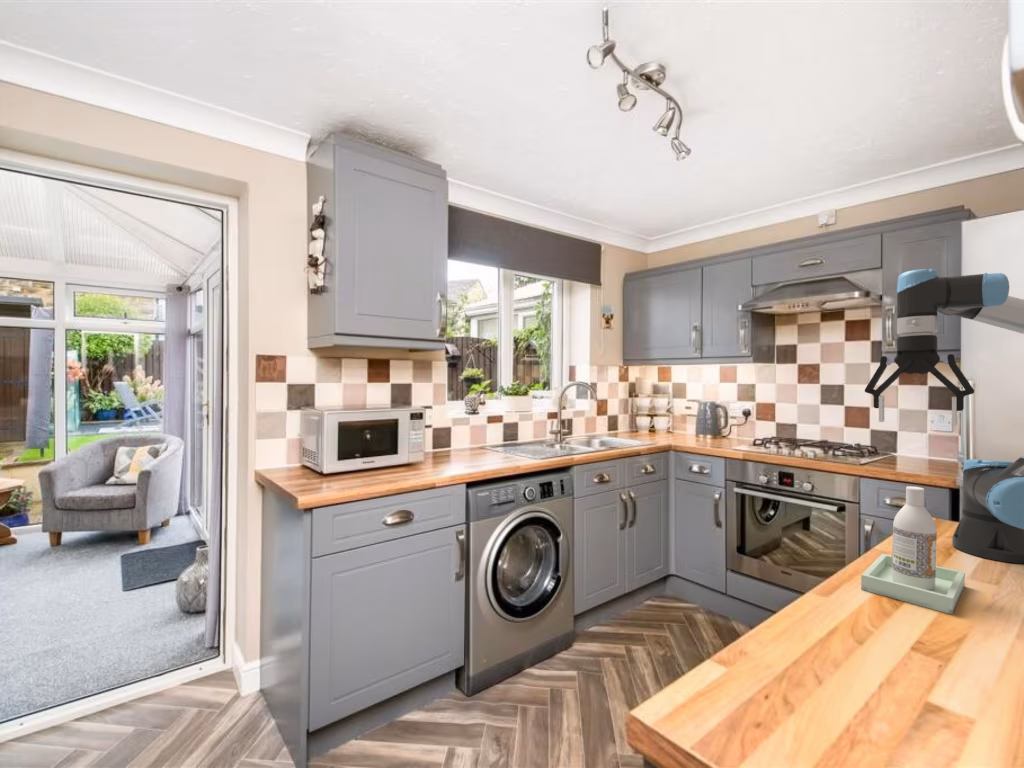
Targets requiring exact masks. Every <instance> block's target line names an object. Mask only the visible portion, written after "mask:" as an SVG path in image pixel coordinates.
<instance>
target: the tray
mask: <svg viewBox="0 0 1024 768" xmlns="http://www.w3.org/2000/svg"><path fill="white" fill-rule="evenodd" d="M965 576H966V572H965V571H961V570H956V569H951V568H949V567H943V566H938V565H936V577H935V588H934V589H931V590H925V589H921V588H917V587H913V586H909V585H905V584H901V583H898V582H895V581H894V580H893V579H892V555H891V554H886V553H881V554H880V555H879V556H878V557H877V558H876V559H875V560H874V562H873V563H871V564H870V566H868V567H867V569H866V570H865V571H864V572H863V573H862V574H861V577H860V578H861V581H860V582H861V584H860V589H861V590H862V591H866V592H869V593H872V594H873V593H874V594H877V595H880V596H883V597H887V598H891V599H896V600H898V601H901V602H905V603H908V604H909V603H910V604H913V605H916V606H921V607H924V608H927V609H931V610H935V611H938V612H941V613H944V614H945V613H946V614H947V615H948V614H949V615H952V616H953V615H954V612H955V610H956V608H957V605H958V603H959V600H960V598H961V596H962V594H963V592H964V588H965V581H966V579H965V578H966V577H965Z"/></svg>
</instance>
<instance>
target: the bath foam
mask: <svg viewBox="0 0 1024 768" xmlns="http://www.w3.org/2000/svg"><path fill="white" fill-rule="evenodd" d="M905 487H906V488H905V504H904V505H903V507H901V508H900V509H899V510H898V512H897V513H896V514H895V516H894V518H893V523H892V555H891V556H892V579H893V580H894V581H895V582H898V583H901V584H905V585H909V586H913V587H917V588H921V589H925V590H931V589H934V588H935V577H936V566H937V538H938V537H937V535H938V532H937V526H936V523H935V520H934V519H933V516H932V515H931V514H930V512H929V511H928V510H927V508H926V507H925V488H923V487H920V486H910V485H909V486H905Z"/></svg>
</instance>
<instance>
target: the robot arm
mask: <svg viewBox="0 0 1024 768" xmlns="http://www.w3.org/2000/svg"><path fill="white" fill-rule="evenodd" d="M896 288H897V289H896V293H895V294H896V314H897V315H896V334H897V335H898V337H897V338H896V355H895V357H892V356H885V355H884V356H881V357H880V360H879V361H880V362H879V366H878V367H877V369H876V370H875V372H874V374H873V375H872V377H871V379H869V382H868V383H867V385H866V387H865V389H864V393H866V394H869V395H872V396H873V408H874V409H878V423H883V422H885V395H881V394H882V393H884V392H885V390H886V389H888V388H889V387H890V386H891V385H892V384H893V383H894V382H896V380H897V379H898V378H899V377H900V376H902V375H903V374H904V373H905V374H908V375H915V374H920V375H922V374H923V375H926V374H928V373H930V374H931V375H933V376H934V377H935V378H936V379H937V380H939V382H940V383H942V384H943V385H944V386H945V387H946V388H947V389H948V390H949V391H951V392H952V393H953V394H954V395H955V396H952V397H951V426H957V425H958V412H963V410H964V407H965V406H964V405H965V399H964V397H966V396H969V395H973V394H974V393H975V389H974V388H973V386H972V385H971V383H970V382H969V381H968V379H967V378H966V376H965V374H964V373H963V371H962V370H961V369H960V367H959V365H958V364H957V360H956V355H954V354H952V353H949V354H948V355H947V354H946V355H939V353H938V336H937V335H935V334H937V333H938V314H939V315H942V316H952V317H954V316H956V317H960V318H963V319H967V320H968V319H969V320H972V321H975V322H978V323H982V324H986V325H989V326H993V327H997V328H1001V329H1005V330H1007V331H1012V332H1015V333H1018V334H1019V333H1020V334H1023V335H1024V299H1023V298H1018V297H1015V296H1010V295H1009V294H1010V282H1009V279H1008V276H1007V275H1006V274H1004V273H1002V272H1000V273H999V272H998V273H996V272H995V273H994V272H993V273H992V272H991V273H987V272H984V273H979V274H967V275H959V276H958V275H957V276H956V275H955V276H945V277H944V276H939V274H938V270H937V269H934V268H928V269H927V268H921V269H913V270H907V271H904V272H903V273H901V274H899V275H898V277H897V287H896ZM940 361H942V362H943V363H944V364H945V365H948V366H949V368H950V370H951V371H952V373H953V374H954V375H955V377H956V378H957V380H958V382H959V383H960V385H962V387H963V388H964V390H961V389H960V388H959V387H957V385H956V384H954V383H953V382H952V381H951V380H949V379H948V378H947V377H946V376H945V375H944V374H943V373H942V372H941V371H940V370H938V368H936V366H937V364H939V362H940ZM893 362H894V363H895V364H896V365H897V366H898V368H897V369H896V370H895V371H894V372H893V373H892V374H891V375H890V376H889V377H888V378H886V380H884V381H883V382H882V383H881V384H880V385H879V386H878V387H877V388H876V389H875V387H876V386H877V384H878V382H879V380H880V379H881V378H882V375H883V374H884V372H885V370H886V369H887V367H888V366H891V365H892V364H893ZM961 506H962V511H961V512H962V514H961V519H960V520H959V522H958V524H957V527H956V528H955V530H954V533H953V535H952V538H951V539H952V541H951V542H952V543H951V544H952V546H953V548H955V549H957V550H959V551H961V552H963V553H966V554H969V555H973V556H976V557H980V558H985V559H989V560H993V561H998V562H1006V563H1014V564H1024V456H1020V457H1019V458H1018V459H1016V460H1015V461H1008V460H1007V461H1005V460H1004V461H1003V460H989V459H988V460H987V459H977V458H976V459H975V458H970V459H966V460H965V461H964V463H963V469H962V505H961Z"/></svg>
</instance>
